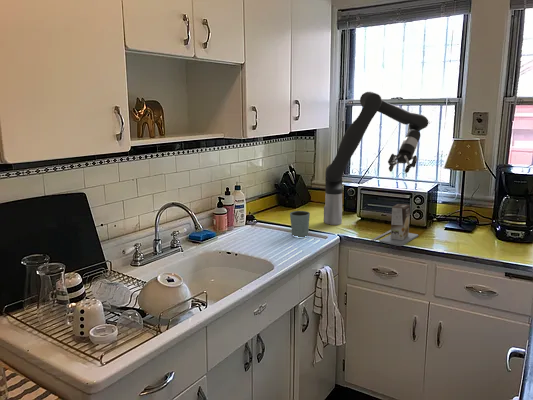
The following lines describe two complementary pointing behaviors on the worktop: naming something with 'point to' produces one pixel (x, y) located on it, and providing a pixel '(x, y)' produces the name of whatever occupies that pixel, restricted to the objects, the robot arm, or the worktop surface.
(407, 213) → the coffee box
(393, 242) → the mat
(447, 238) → the worktop surface
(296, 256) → the worktop surface
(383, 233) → the tan thin rod
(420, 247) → the worktop surface
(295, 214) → the grey green cup
